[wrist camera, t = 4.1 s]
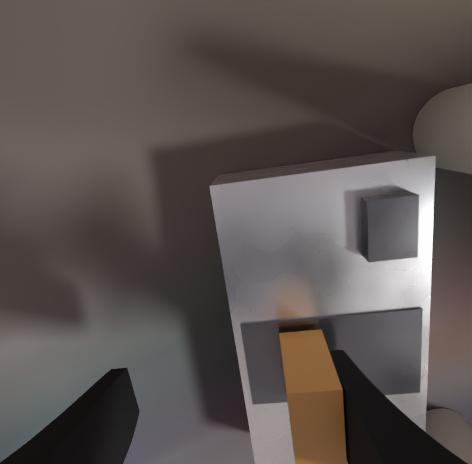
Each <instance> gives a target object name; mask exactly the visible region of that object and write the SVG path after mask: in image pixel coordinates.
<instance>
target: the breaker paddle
mask: <svg viewBox="0 0 472 464" xmlns="http://www.w3.org/2000/svg"><path fill="white" fill-rule="evenodd" d="M279 337H280V345H281V354H282V362H283V371H284V379H285V388H286V396H287V404H288V412H289V420H290V428H291V435H292V443H293V451H294V459H295V464H347V458H346V440H345V422H344V404H343V389H342V386H341V383H340V381H339V378H338V375H337V372H336V369H335V366H334V364H333V361H332V358H331V355H330V352H329V349H328V346H327V344H326V341H325V338H324V335H323V332H322V329H319V330H308V331H297V332H286V333H279Z"/></svg>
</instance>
